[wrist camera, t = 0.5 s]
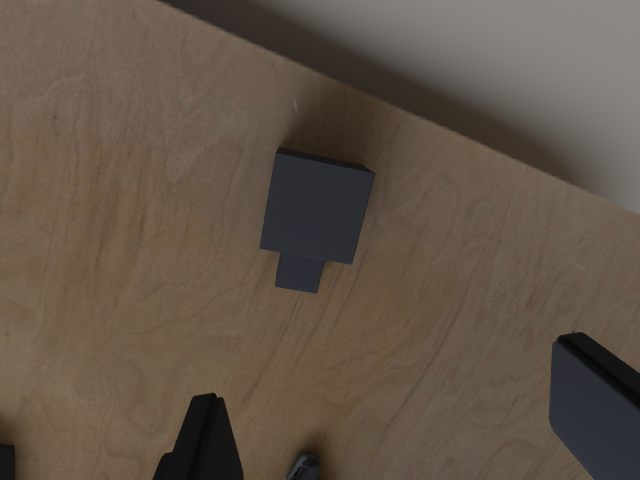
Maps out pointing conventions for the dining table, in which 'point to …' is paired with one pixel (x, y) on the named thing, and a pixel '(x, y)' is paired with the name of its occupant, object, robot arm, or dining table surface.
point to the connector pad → (313, 215)
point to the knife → (305, 468)
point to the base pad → (6, 462)
